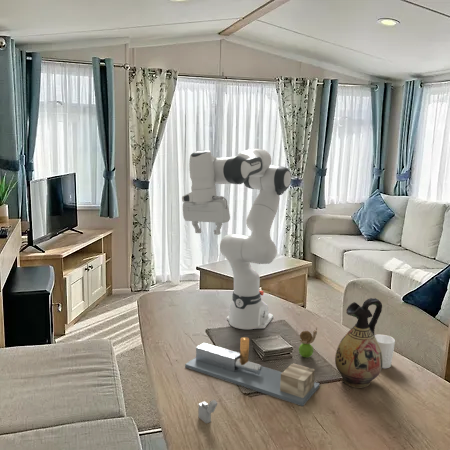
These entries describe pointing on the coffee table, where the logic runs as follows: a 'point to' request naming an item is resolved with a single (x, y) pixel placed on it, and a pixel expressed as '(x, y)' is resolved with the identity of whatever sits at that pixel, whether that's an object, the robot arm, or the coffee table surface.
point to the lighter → (206, 410)
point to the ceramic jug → (360, 347)
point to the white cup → (386, 348)
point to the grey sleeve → (217, 356)
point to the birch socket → (297, 380)
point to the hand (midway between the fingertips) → (207, 233)
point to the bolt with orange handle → (246, 358)
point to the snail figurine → (306, 343)
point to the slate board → (253, 380)
